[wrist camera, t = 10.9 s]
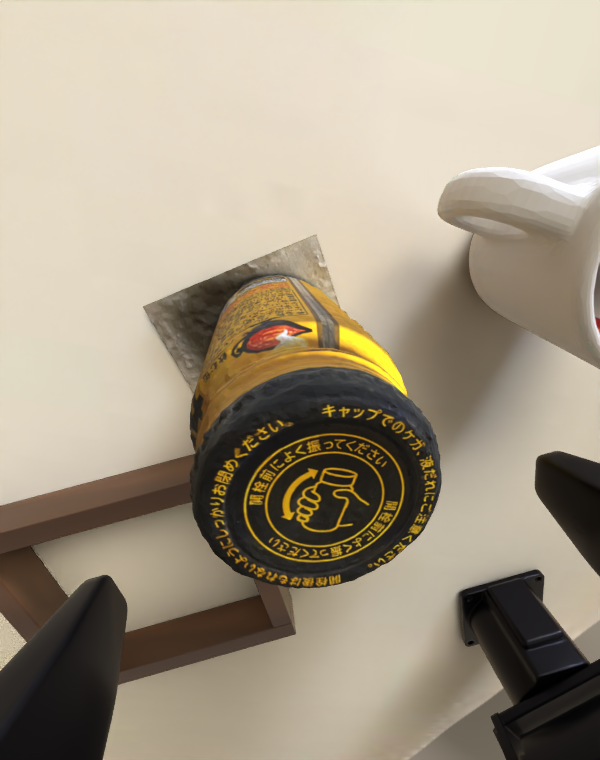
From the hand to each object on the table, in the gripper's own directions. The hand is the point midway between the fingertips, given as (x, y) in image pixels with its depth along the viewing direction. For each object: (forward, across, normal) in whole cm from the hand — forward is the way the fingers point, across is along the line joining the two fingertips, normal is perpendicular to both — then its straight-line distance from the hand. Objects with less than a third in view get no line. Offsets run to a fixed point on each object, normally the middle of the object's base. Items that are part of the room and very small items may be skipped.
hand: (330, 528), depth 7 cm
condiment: (+12, +1, -1) cm, 12 cm away
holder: (+12, +11, +11) cm, 20 cm away
